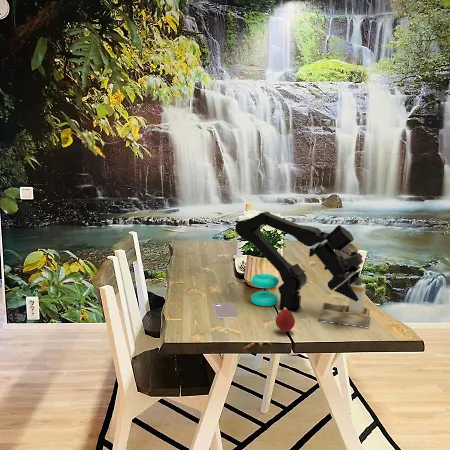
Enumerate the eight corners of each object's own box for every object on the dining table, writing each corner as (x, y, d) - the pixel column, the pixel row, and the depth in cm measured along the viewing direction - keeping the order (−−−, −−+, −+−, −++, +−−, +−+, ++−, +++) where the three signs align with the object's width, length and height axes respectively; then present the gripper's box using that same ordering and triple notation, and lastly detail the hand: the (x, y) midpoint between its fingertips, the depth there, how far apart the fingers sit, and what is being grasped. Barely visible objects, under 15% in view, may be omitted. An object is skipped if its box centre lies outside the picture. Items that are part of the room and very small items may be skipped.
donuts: (246, 277, 164) (258, 271, 173) (245, 304, 166) (258, 296, 174) (271, 282, 159) (283, 275, 168) (270, 309, 161) (282, 301, 169)
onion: (292, 328, 143) (293, 304, 142) (295, 336, 138) (296, 311, 136) (273, 328, 143) (274, 304, 142) (276, 336, 138) (277, 310, 136)
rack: (317, 321, 151) (318, 309, 150) (322, 312, 159) (323, 301, 158) (367, 328, 145) (368, 316, 144) (370, 319, 153) (371, 307, 152)
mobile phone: (216, 317, 150) (212, 302, 165) (216, 320, 151) (212, 304, 165) (239, 316, 151) (233, 301, 166) (239, 319, 151) (233, 304, 166)
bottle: (347, 320, 150) (350, 279, 147) (351, 316, 153) (354, 276, 151) (360, 322, 148) (363, 281, 145) (363, 319, 151) (366, 278, 149)
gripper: (339, 249, 140) (373, 290, 137) (356, 240, 156) (387, 276, 152) (314, 270, 146) (346, 310, 142) (332, 259, 161) (361, 294, 158)
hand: (361, 296), depth 148 cm, fingers open, 9 cm apart
